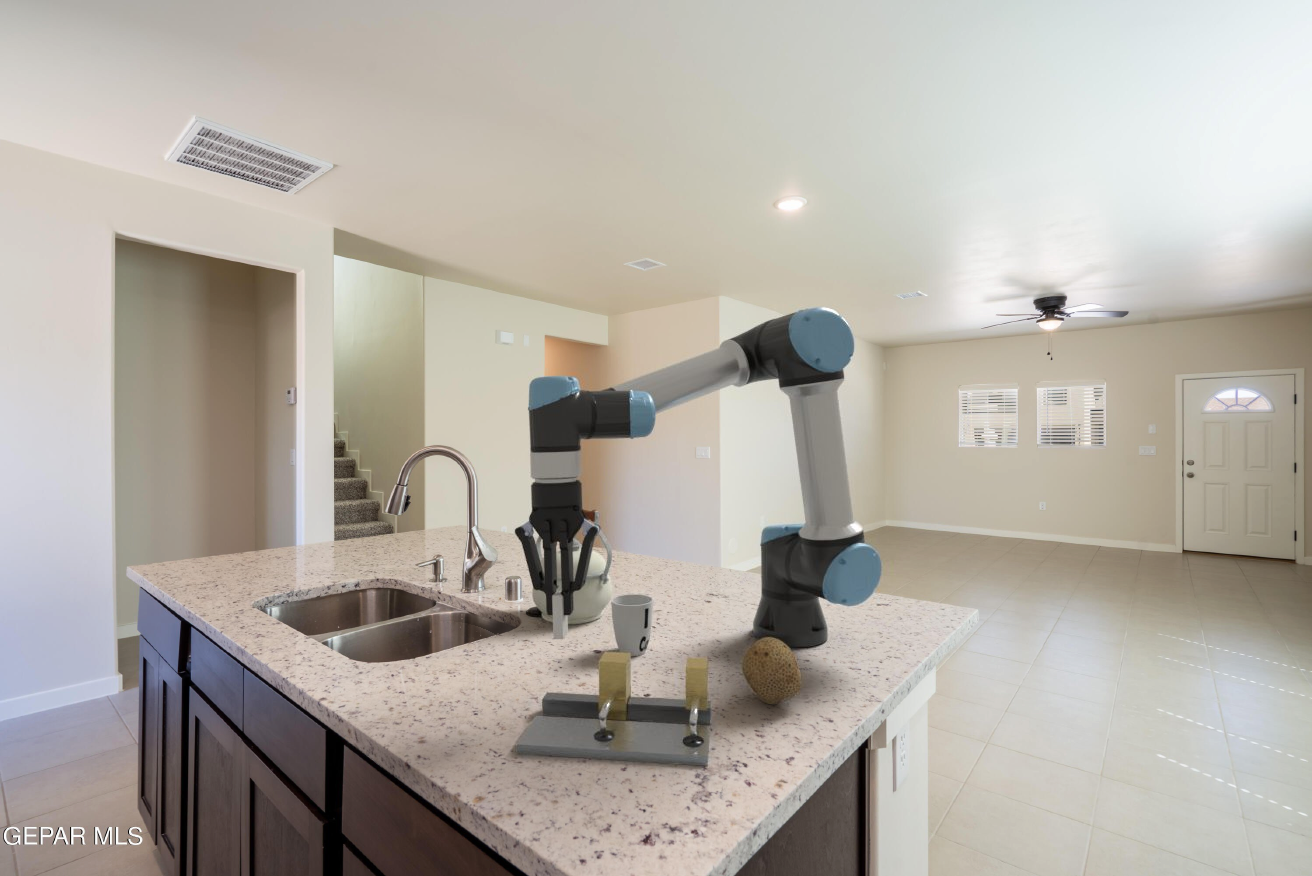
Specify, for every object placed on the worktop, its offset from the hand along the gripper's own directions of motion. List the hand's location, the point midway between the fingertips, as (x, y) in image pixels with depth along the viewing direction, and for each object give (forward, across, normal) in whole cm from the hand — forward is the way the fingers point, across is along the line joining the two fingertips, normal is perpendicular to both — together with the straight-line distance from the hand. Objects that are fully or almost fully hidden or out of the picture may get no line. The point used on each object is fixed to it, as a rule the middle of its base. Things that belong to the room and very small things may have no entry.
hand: (560, 635), depth 91 cm
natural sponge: (+12, -31, -7) cm, 34 cm away
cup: (+12, -6, -26) cm, 29 cm away
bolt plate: (+12, -10, +8) cm, 17 cm away
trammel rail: (+12, -10, +4) cm, 16 cm away
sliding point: (+11, -8, +4) cm, 14 cm away
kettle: (+12, +13, -48) cm, 51 cm away
